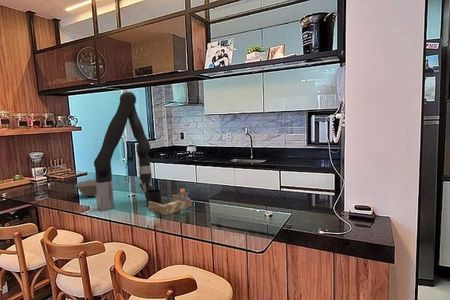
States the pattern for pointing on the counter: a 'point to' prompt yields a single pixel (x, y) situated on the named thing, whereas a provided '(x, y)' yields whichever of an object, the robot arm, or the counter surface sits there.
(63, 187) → the counter surface
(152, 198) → the mug
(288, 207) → the counter surface
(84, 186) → the ceramic bowl
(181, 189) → the button
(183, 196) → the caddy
